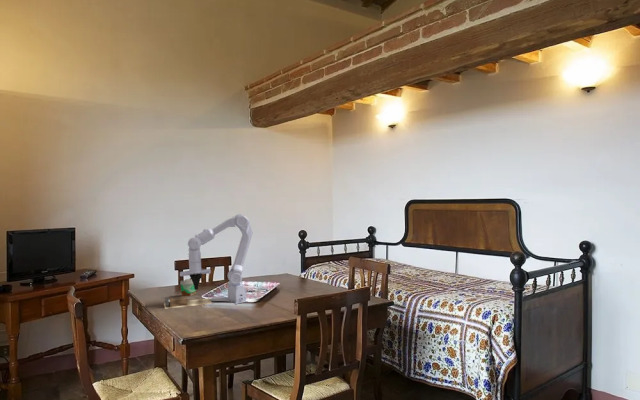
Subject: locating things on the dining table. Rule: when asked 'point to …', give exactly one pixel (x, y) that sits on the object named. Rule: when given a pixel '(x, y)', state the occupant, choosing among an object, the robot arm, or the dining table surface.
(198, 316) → the dining table surface
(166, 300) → the cylinder
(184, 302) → the tan cardboard box
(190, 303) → the board
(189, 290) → the food container
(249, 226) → the robot arm
